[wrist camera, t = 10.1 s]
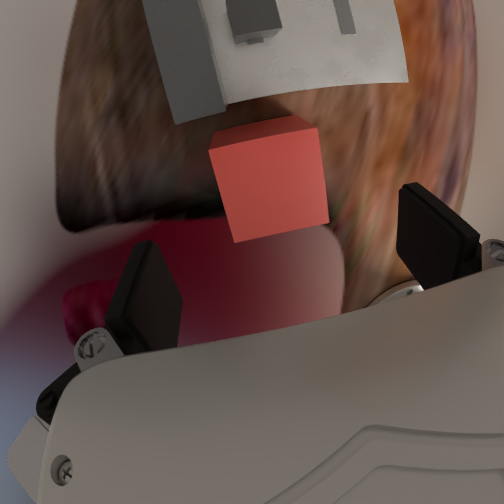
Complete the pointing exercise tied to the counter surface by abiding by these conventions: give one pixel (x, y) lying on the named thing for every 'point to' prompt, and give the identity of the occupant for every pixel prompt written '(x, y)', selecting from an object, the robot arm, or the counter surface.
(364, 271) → the counter surface
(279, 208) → the matte red cuboid
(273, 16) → the block
